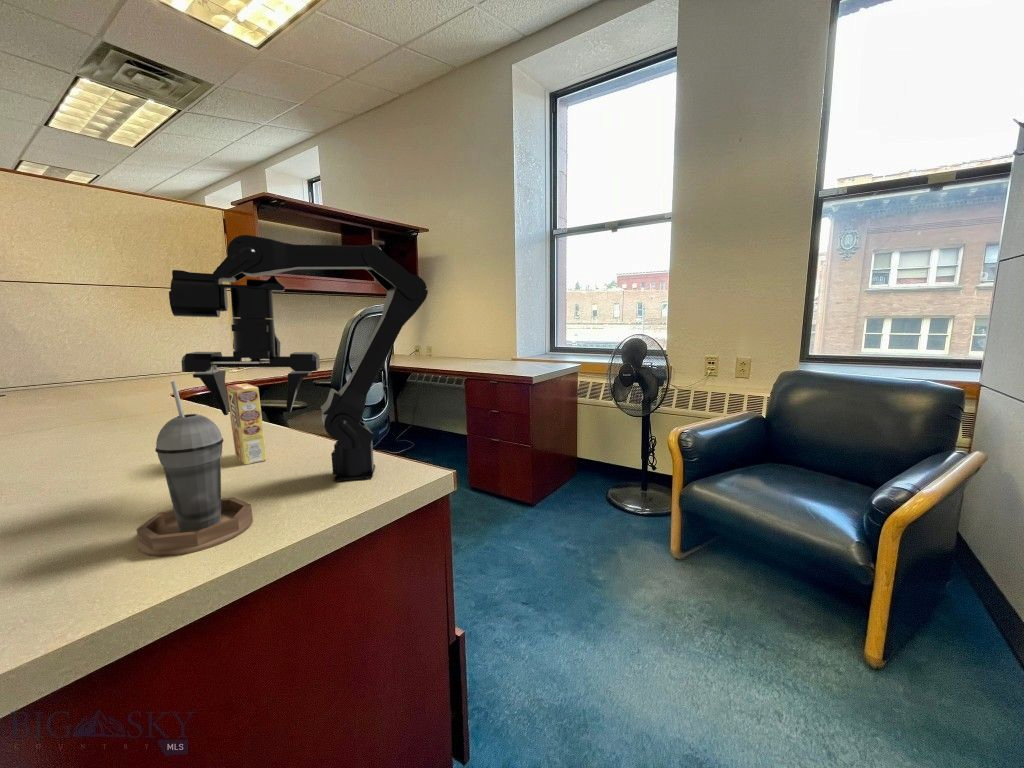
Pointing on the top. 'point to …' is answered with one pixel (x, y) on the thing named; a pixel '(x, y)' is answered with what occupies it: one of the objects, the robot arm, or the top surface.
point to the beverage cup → (192, 468)
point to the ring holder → (167, 540)
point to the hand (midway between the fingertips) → (258, 413)
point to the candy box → (246, 423)
